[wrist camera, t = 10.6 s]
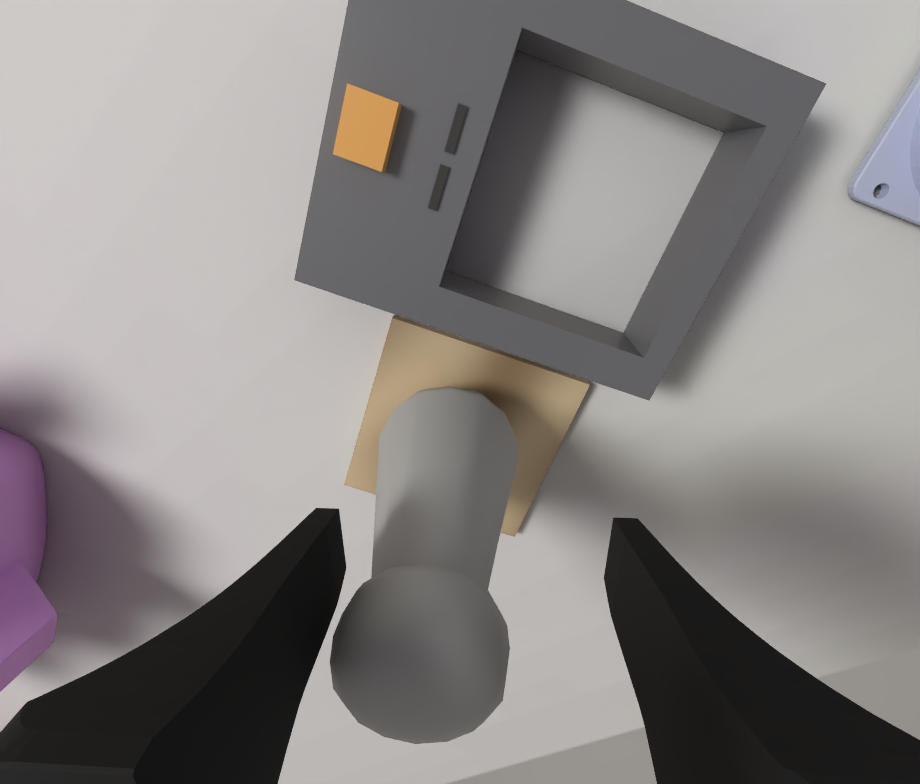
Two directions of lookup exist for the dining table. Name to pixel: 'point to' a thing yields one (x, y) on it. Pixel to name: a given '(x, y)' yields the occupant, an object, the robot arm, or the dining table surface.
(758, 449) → the dining table surface
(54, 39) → the dining table surface
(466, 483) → the salt shaker
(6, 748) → the robot arm
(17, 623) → the teakettle
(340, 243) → the grey flat block
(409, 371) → the oak pad
